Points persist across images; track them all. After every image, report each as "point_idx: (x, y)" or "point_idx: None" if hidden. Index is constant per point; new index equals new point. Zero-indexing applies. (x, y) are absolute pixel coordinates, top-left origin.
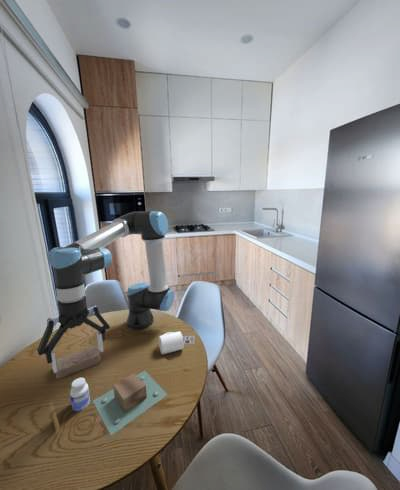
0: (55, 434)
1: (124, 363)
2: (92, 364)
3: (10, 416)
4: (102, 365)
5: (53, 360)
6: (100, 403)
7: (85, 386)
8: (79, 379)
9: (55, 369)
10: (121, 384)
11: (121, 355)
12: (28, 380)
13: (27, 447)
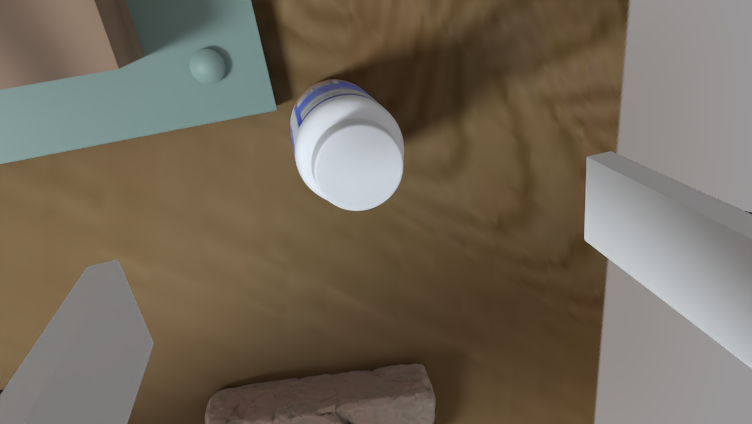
0: (456, 21)
1: None
2: (256, 388)
3: None
4: (203, 364)
5: (722, 209)
6: (234, 63)
7: (313, 142)
8: (351, 192)
9: (620, 164)
10: (50, 36)
11: None
12: (523, 402)
13: (557, 27)
